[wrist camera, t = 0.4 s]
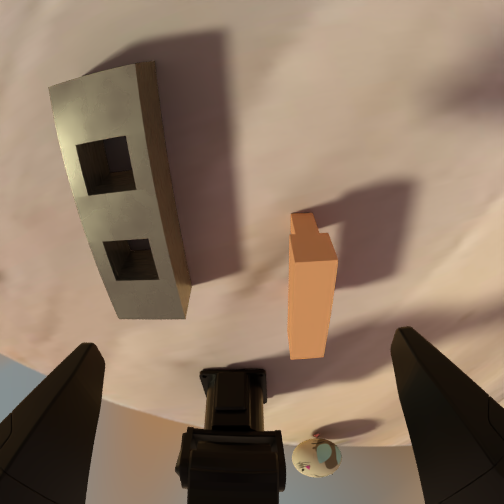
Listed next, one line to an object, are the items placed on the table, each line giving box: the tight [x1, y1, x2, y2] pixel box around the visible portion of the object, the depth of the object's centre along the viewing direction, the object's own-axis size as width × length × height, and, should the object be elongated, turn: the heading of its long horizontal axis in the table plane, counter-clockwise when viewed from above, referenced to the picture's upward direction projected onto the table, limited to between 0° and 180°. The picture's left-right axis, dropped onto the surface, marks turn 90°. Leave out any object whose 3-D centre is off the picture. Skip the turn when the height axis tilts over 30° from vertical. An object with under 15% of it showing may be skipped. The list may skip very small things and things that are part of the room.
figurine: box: [292, 434, 342, 477], centre depth 38 cm, size 8×6×7 cm
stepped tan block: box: [287, 213, 338, 360], centre depth 21 cm, size 8×2×6 cm, turn 3°
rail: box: [48, 61, 192, 319], centre depth 18 cm, size 16×5×3 cm, turn 3°
